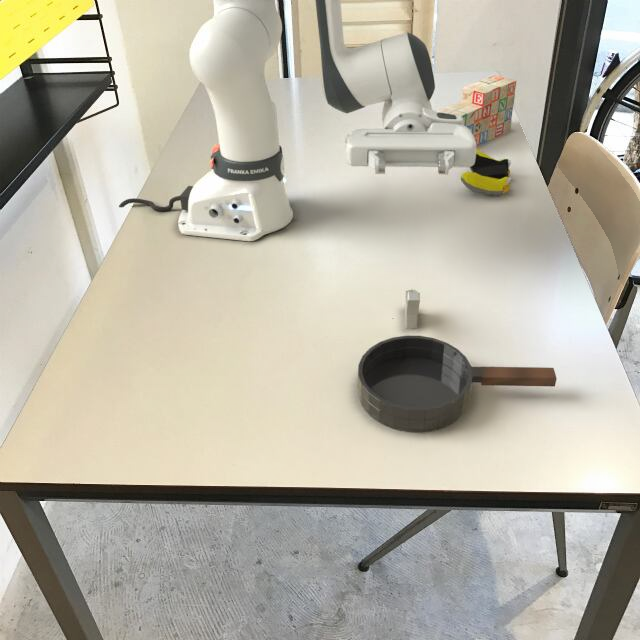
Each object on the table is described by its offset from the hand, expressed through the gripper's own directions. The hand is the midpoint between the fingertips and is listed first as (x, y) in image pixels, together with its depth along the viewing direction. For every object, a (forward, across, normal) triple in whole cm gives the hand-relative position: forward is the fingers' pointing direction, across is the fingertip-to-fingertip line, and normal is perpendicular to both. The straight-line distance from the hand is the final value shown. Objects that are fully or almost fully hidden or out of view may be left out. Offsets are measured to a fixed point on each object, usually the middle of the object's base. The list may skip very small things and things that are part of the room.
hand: (411, 169), depth 104 cm
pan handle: (+26, +13, +18) cm, 35 cm away
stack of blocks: (-62, +18, +21) cm, 68 cm away
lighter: (+11, +1, +21) cm, 24 cm away
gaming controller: (-38, +18, +21) cm, 47 cm away
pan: (+26, 0, +21) cm, 34 cm away
